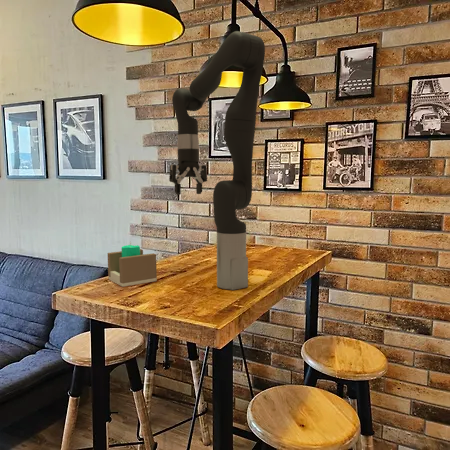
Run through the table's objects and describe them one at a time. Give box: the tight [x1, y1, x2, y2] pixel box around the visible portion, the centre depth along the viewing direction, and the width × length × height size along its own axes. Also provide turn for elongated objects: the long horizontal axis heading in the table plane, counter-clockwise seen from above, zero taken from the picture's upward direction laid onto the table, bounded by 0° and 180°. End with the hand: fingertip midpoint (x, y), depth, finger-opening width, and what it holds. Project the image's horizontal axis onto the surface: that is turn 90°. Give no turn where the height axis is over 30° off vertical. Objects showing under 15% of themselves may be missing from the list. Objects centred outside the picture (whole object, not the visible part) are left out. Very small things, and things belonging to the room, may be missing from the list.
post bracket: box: [107, 248, 158, 287], centre depth 138 cm, size 12×12×9 cm
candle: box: [121, 241, 141, 257], centre depth 138 cm, size 6×6×12 cm
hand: (188, 194), depth 147 cm, fingers open, 8 cm apart
